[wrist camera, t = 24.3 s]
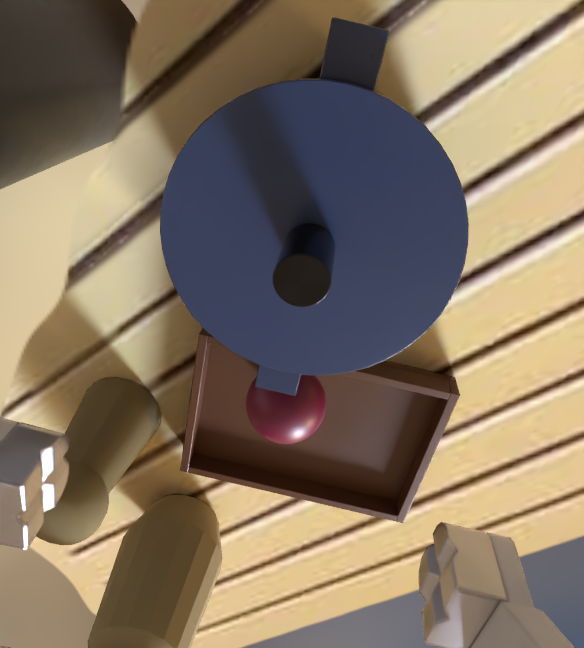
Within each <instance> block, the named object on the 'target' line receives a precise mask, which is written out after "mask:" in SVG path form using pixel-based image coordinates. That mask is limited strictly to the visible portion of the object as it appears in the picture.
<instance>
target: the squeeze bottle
mask: <svg viewBox="0 0 584 648" xmlns="http://www.w3.org/2000/svg"><path fill="white" fill-rule="evenodd" d="M221 562H222V551H221V542H220V532H219V522H218V520H217V517H216V515H215V513H214V511H213V510H212V509H211V508H210V507H209V506H208V505H207V504H205V503H204V502H202V501H200V500H198V499H196V498H194V497H190V496H185V495H168V496H166V497H163V498H161V499H159V500H157V501H156V502H155V503H154V504H153V505H152V506H151V507H150V508H149V509H148V510H147V511H146V512H145V513H144V514H143V515H142V516H141V517H140V518H139V519H138V520H137V521H136V522H135V523H134V524H133V525H132V526H131V527H130V529H129V530H128V531H127V533H126V534H125V536H124V537H123V540H122V543H121V546H120V549H119V552H118V554H117V557H116V560H115V563H114V566H113V569H112V572H111V575H110V578H109V581H108V584H107V587H106V589H105V592H104V595H103V598H102V601H101V604H100V607H99V610H98V613H97V616H96V619H95V622H94V624H93V627H92V630H91V633H90V636H89V639H88V648H191V645H192V643H193V640H194V638H195V635H196V632H197V630H198V627H199V624H200V622H201V619H202V617H203V614H204V611H205V609H206V606H207V604H208V601H209V598H210V596H211V593H212V591H213V588H214V585H215V583H216V580H217V578H218V575H219V572H220V568H221Z"/></svg>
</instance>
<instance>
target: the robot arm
mask: <svg viewBox="0 0 584 648" xmlns="http://www.w3.org/2000/svg"><path fill="white" fill-rule="evenodd" d="M68 449H69V436H67V435H66V434H63V433H59V432H56V431H52V430H48V429H44V428H40V427H36V426H33V425H29V424H25V423H19V422H16V421H12V420H8V419H4V418H0V544H2V545H6V546H11V547H16V548H20V549H25V550H27V548H28V547H29V545H30V544H31V542H32V541H33V539H34V538H35V536H36V535H37V533H38V532H39V530H40V529H41V527H42V526H43V524H44V512H46V511H47V510H49V509H51V508H53V507H55V505H56V504H57V502H58V501H59V499H60V497H61V496H62V493H63V491H64V488H65V486H66V483H67V480H68V475H69V463H68V461H67V460H66V458H65V457H64V455H65V453H66V452H67V450H68ZM433 538H434V544H432V545H430V546H428V547H426V549H425V551H424V553H423V556H422V558H421V563H420V568H419V591H420V594H421V595H422V597H423V598H424V599H425V601H426V602H427V603H426V605H425V607H424V609H423V611H422V619H423V628H424V637H425V644H428V645H432V646H436V647H439V648H575V647H574V646H573V645H572V644H571V643H570V642H569V641H568V639H567V638H566V637H565V636H564V635H563V634H562V633H561V631H559V629H558V628H557V627H556V626H555V625H554V624H553V623H552V621H551V620H550V619H549V618H548V617H547V616H546V614H545V613H544V612H543V611H542V610H539V609H535V608H534V604H533V601H532V598H531V595H530V592H529V588H528V585H527V582H526V579H525V575H524V572H523V569H522V566H521V563H520V559H519V556H518V553H517V550H516V547H515V543H514V541H513V540H512V539H511V538H509V537H505V536H501V535H496V534H492V533H485V532H483V531H478V530H474V529H470V528H465V527H461V526H456V525H452V524H447V523H443V522H441V523H439V524H438V525H437V527H436V529H435V531H434V532H433ZM0 648H9V647H5V646H0Z"/></svg>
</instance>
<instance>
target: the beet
mask: <svg viewBox="0 0 584 648" xmlns="http://www.w3.org/2000/svg"><path fill="white" fill-rule="evenodd" d="M256 378H257V376H256ZM256 378H255V379H254V380H253V382H252V383H251V385H250V387H249V390H248V393H247V399H246V409H247V414H248V417H249V420H250V422H251V424H252V425H253V427H254V428H255V430H256V431H257V432H258V433H259V434H260V435H262V436H263V437H264V438H266V439H268V440H270V441H272V442H275V443H280V444H293V443H297V442H300V441H303V440H305V439H306V438H308V437H309V436H311V435H312V434H313V433H314V432H315V431H316V430H317V429H318V427H319V426H320V424H321V423H322V421H323V418H324V415H325V411H326V396H325V392H324V389H323V386H322V384H321V383H320V381H319V380H318V378H317V377H316V376H315V375H302V374H301V377H300V380H299V384H298V388H297V392H296V395H295V396H293V395H289V394H285V393H280V392H276V391H272V390H268V389H263V388H259V387H255V383H256Z"/></svg>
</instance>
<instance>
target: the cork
mask: <svg viewBox="0 0 584 648" xmlns="http://www.w3.org/2000/svg"><path fill="white" fill-rule="evenodd" d="M160 420H161V412H160V409H159V406H158V403H157V402H156V400H155V399H154V398H153V396H152V395H151V393H149V392H148V391H147V390H146V389H144V388H143V387H142V386H141V385H139V384H136V383H134V382H132V381H130V380H127V379H122V378H117V377H115V378H104V379H101V380H99V381H97V382H94V383H93V384H92V385H91V386H90V387H89V388H88V389H87V391H86V393H85V395H84V397H83V399H82V401H81V403H80V405H79V407H78V409H77V411H76V413H75V415H74V416H73V418H72V420H71V422H70V424H69V426H68V428H67V430H66V432H65V434H66V435H67V436H69V449H68V450H67V452H66V453H65V455H64V457H65V458H66V460H67V461H68V463H69V475H68V480H67V483H66V486H65V488H64V491H63V493H62V496H61V497H60V499H59V501H58V502H57V504H56V505H55V507H53V508H51V509H49V510H47V511H46V512H44V524H43V526H42V527H41V529H40V530H39V532H38V533H37V535H36V536H37V537H38V538H40V539H42V540H45V541H47V542H49V543H54V544H59V545H72V544H75V543H79V542H81V541H83V540H85V539H87V538H88V537H89V536H91V535H92V534H93V533H94V532H95V531H96V530H97V529H98V528H99V527H100V525H101V523H102V521H103V519H104V517H105V515H106V513H107V509H108V504H109V495H108V494H109V492H110V491H111V490H112V488H113V487H114V486H115V485H116V483H117V482H118V481H119V479H120V478H121V477H122V475H123V474H124V473H125V471H126V470H127V469H128V468H129V466H130V465H131V464H132V462H133V461H134V460H135V458H136V457H137V456H138V454H139V453H140V452H141V451H142V449H143V448H144V447H145V445H146V444H147V443H148V441H149V440H150V439H151V437H152V436H153V435H154V434H155V432H156V431H157V429H158V427H159V425H160Z"/></svg>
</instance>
